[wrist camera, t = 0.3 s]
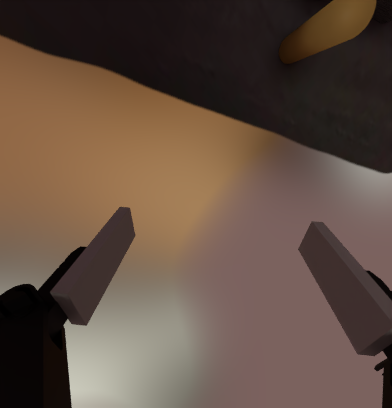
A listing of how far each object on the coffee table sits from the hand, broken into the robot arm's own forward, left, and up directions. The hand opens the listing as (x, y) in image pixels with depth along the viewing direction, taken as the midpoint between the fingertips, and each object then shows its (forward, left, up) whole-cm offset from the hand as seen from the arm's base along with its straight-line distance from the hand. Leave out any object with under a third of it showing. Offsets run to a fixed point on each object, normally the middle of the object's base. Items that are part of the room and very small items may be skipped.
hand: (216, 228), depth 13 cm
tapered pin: (-15, +11, -27) cm, 32 cm away
